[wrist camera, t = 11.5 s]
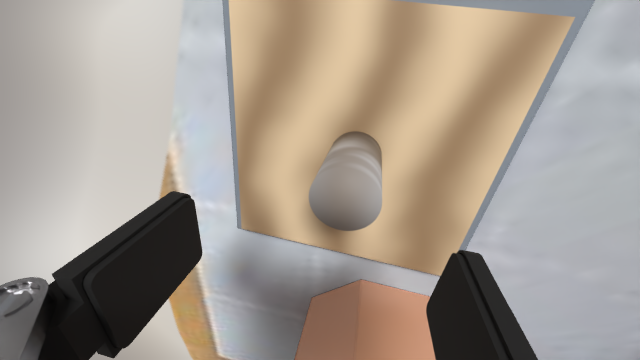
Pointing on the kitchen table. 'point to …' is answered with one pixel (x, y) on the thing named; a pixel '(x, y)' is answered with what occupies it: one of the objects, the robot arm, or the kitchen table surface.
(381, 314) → the bowl
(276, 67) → the lid
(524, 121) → the mat
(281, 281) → the kitchen table surface
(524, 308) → the kitchen table surface
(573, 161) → the kitchen table surface
